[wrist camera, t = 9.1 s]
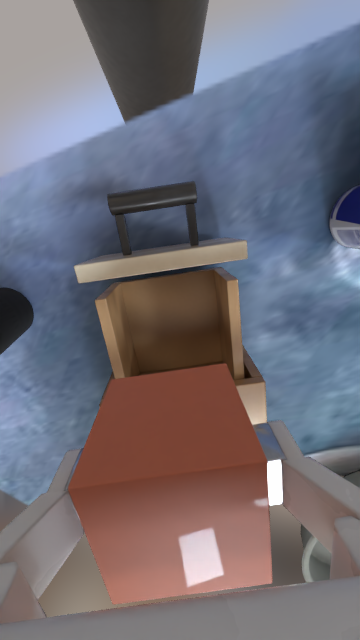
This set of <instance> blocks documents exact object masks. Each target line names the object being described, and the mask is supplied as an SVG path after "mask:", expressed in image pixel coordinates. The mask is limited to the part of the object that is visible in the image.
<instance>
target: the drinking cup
mask: <svg viewBox="0 0 360 640" xmlns="http://www.w3.org/2000/svg"><path fill="white" fill-rule="evenodd" d="M32 322H33V309H32V306H31V304H30V303H29V301H28V300H27V299H26V298H25V297H24V296H23V295H22V294H21V293H19V292H17V291H15V290H13V289H9V288H0V355H1V354H2V353H3V352H4V351H5V350H6V349H7V348H8V347H9V346H10V345H11V344H12V343H13V342H14V341H16V340H17V339H18V338H19V337H20V336H21V335H22V334H23V333H24V332H25V331H26V330H27V329H28V328H29V327H30V326H31V324H32Z"/></svg>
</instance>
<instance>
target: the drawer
mask: <svg viewBox="0 0 360 640" xmlns="http://www.w3.org/2000/svg"><path fill="white" fill-rule="evenodd" d="M107 199H108V205H109V209H110V212H111V214H112V215H113V216H114V215H115V219H116V223H117V228H118V233H119V238H120V243H121V247H122V252H123V253H116V254H110V255H103V256H99V257H96V258H94V259H91V260H88V261H85V262H83V263H80V264H77V265H75V266H74V269H75V272H76V276H77V280H78V283H86V282H93V281H100V280H106V279H113V278H120V277H127V276H134V275H140V274H147V273H154V272H161V271H168V270H174V269H181V268H188V267H195V266H202V265H209V264H215V263H222V262H229V261H236V260H243V259H247V258H248V255H247V241H246V240H240V239H233V238H218V239H211V240H204V241H198V232H197V223H196V214H195V205H194V203H197V191H196V184H195V181H190V182H184V183H177V184H171V185H164V186H157V187H151V188H144V189H137V190H131V191H124V192H117V193H111V194H108V196H107ZM181 205H186V206H185V207H186V215H187V223H188V231H189V239H190V243H184V244H177V245H170V246H164V247H157V248H150V249H143V250H137V251H131V246H130V240H129V235H128V230H127V225H126V220H125V215H124V214H128V213H134V212H141V211H148V210H154V209H161V208H168V207H174V206H181ZM95 304H96V308H97V312H98V316H99V320H100V323H101V327H102V331H103V335H104V339H105V343H106V347H107V350H108V354H109V358H110V362H111V366H112V370H113V374H114V377H115V379H119V378H126V377H133V376H140V375H147V374H154V373H161V372H168V371H175V370H182V369H189V368H196V367H203V366H209V365H216V364H223V363H226V364H227V367H228V369H229V371H230V374H231V376H232V378H233V380H240V379H244V365H243V350H242V335H241V320H240V304H239V289H238V279H236V278H235V277H234V276H232V275H231V274H230V273H228V272H227V271H225V270H224V269H223V268H221V267H217V268H211V269H204V270H197V271H190V272H183V273H176V274H170V275H163V276H156V277H149V278H142V279H135V280H129V281H122V282H115V283H113V284H112V285H111V286H110V287H108V288H107V289H106V290H105V291H104V292H103V293H102V294H101V295H100V296H99V297H98V298H97V299H96V300H95Z"/></svg>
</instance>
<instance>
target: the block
mask: <svg viewBox="0 0 360 640" xmlns="http://www.w3.org/2000/svg"><path fill="white" fill-rule="evenodd" d="M68 491H69V493H70V496H71V498H72V501H73V503H74V506H75V509H76V511H77V514H78V516H79V519H80V521H81V524H82V527H83V529H84V532H85V534H86V537H87V539H88V542H89V545H90V547H91V550H92V552H93V555H94V557H95V560H96V563H97V565H98V568H99V570H100V572H101V575H102V578H103V581H104V583H105V586H106V588H107V591H108V593H109V596H110V599H111V601H112V604H121V603H128V602H136V601H143V600H151V599H158V598H166V597H173V596H181V595H188V594H196V593H203V592H211V591H218V590H226V589H233V588H241V587H248V586H256V585H263V584H271V583H272V561H271V538H270V515H269V514H270V513H269V489H268V465H267V458H266V456H265V454H264V451H263V449H262V447H261V444H260V442H259V440H258V437H257V435H256V432H255V430H254V428H253V425H252V423H251V421H250V418H249V416H248V414H247V411H246V409H245V407H244V404H243V402H242V400H241V397H240V395H239V393H238V390H237V388H236V385H235V383H234V381H233V378H232V376H231V374H230V371H229V369H228V367H227V364H226V363H223V364H216V365H209V366H203V367H196V368H189V369H182V370H175V371H168V372H161V373H154V374H147V375H140V376H133V377H126V378H119V379H112V380H111V381H110V384H109V386H108V389H107V391H106V394H105V396H104V399H103V401H102V404H101V406H100V409H99V411H98V414H97V416H96V419H95V421H94V424H93V426H92V429H91V431H90V434H89V436H88V439H87V441H86V444H85V446H84V449H83V451H82V454H81V456H80V459H79V461H78V464H77V466H76V469H75V471H74V474H73V476H72V479H71V481H70V484H69V486H68Z"/></svg>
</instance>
